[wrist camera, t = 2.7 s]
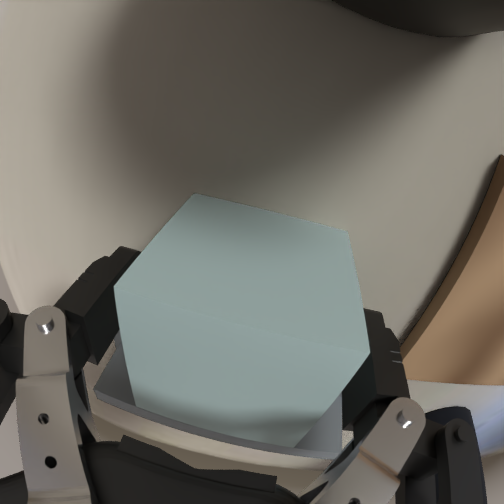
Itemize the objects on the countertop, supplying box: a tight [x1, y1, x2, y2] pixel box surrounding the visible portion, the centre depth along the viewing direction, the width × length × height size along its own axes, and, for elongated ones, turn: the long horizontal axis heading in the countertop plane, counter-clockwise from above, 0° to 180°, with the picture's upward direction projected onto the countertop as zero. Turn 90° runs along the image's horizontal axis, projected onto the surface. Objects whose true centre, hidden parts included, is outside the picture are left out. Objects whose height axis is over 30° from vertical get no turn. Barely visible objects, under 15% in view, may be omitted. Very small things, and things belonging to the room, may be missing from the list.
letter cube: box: [114, 193, 370, 448], centre depth 10 cm, size 6×6×6 cm
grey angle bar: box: [93, 330, 342, 460], centre depth 14 cm, size 13×3×4 cm, turn 79°
